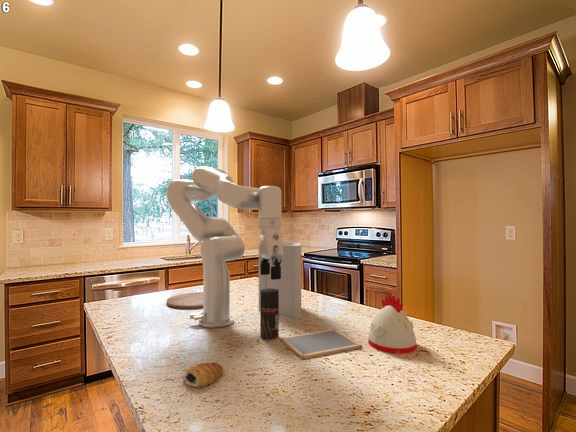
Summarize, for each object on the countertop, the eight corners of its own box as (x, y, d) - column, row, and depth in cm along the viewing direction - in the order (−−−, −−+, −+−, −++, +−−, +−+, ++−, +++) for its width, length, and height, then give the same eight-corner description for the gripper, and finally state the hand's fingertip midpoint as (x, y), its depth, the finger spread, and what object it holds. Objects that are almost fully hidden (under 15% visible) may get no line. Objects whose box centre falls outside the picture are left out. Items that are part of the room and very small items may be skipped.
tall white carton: (315, 310, 134) (315, 243, 134) (294, 319, 122) (294, 245, 122) (279, 303, 145) (280, 241, 146) (257, 310, 134) (257, 243, 134)
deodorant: (276, 340, 100) (276, 292, 101) (258, 339, 102) (258, 291, 102) (280, 334, 106) (280, 288, 106) (263, 332, 107) (263, 288, 108)
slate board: (301, 359, 87) (301, 356, 87) (280, 340, 101) (280, 337, 101) (361, 347, 95) (361, 344, 95) (334, 331, 109) (334, 329, 109)
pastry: (210, 367, 82) (210, 353, 82) (229, 375, 79) (230, 359, 79) (180, 383, 74) (180, 367, 74) (199, 392, 71) (200, 375, 71)
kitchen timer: (391, 357, 88) (391, 303, 88) (359, 341, 100) (359, 293, 101) (426, 348, 95) (426, 297, 95) (391, 333, 107) (391, 288, 107)
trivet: (154, 304, 145) (154, 299, 145) (199, 293, 165) (199, 290, 165) (190, 313, 130) (190, 308, 130) (234, 300, 151) (234, 296, 151)
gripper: (291, 224, 98) (291, 280, 98) (271, 224, 114) (271, 272, 113) (268, 224, 95) (268, 282, 95) (251, 224, 111) (251, 273, 110)
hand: (270, 276), depth 104 cm, fingers open, 9 cm apart
